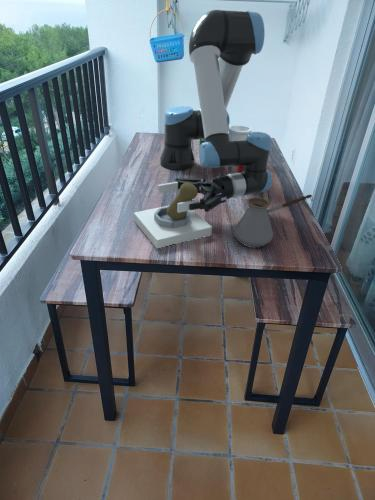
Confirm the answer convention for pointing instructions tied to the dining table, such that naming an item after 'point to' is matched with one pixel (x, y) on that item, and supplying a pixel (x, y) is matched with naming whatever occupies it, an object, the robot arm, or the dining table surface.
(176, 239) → the base plate
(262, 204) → the coffee pot
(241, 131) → the jar
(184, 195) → the cork
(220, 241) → the dining table surface
